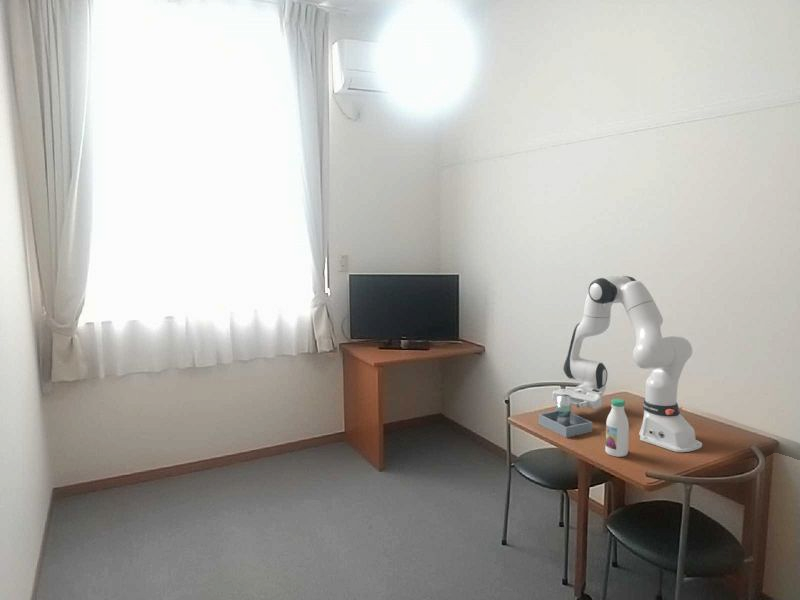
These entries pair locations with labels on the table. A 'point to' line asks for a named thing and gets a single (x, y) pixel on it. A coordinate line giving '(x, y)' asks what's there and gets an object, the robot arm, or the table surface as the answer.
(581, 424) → the tote
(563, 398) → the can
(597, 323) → the robot arm
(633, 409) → the table surface
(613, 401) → the milk bottle
